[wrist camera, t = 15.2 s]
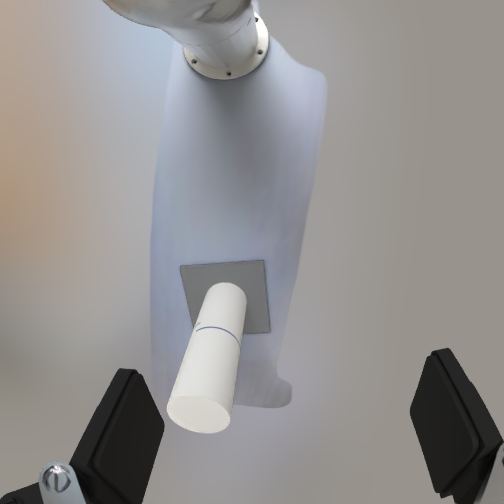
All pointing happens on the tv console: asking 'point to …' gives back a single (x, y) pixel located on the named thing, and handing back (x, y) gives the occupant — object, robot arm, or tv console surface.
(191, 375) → the cylindrical container
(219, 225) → the tv console surface
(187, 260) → the tv console surface
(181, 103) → the tv console surface
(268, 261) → the tv console surface
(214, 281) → the rubber mat
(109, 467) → the robot arm
